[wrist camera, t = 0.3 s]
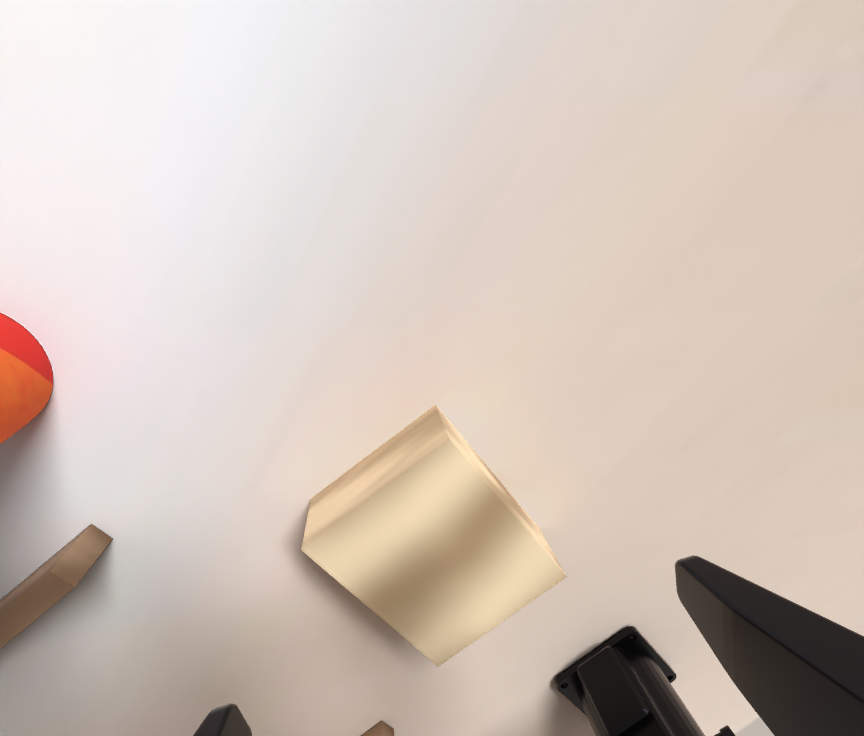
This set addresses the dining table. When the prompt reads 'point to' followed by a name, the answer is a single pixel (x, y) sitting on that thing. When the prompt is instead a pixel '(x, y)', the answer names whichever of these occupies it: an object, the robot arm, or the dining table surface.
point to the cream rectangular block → (430, 539)
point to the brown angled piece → (59, 579)
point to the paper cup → (21, 377)
